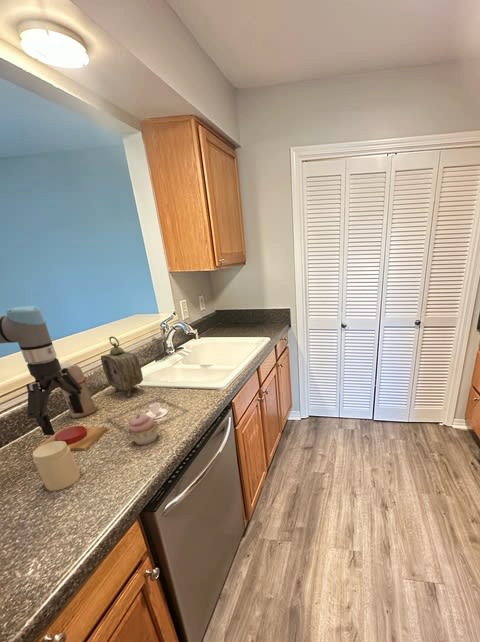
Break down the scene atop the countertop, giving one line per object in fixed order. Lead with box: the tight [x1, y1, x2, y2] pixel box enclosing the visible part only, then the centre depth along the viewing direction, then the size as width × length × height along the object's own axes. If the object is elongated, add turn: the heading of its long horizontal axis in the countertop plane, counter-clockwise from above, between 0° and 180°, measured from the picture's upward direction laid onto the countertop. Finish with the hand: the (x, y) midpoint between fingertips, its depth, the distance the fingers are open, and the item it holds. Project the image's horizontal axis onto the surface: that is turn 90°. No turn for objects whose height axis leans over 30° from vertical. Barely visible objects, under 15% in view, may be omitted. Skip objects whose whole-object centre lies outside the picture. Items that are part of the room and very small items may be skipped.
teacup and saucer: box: [145, 402, 169, 420], centre depth 119 cm, size 9×8×4 cm
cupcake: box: [126, 412, 159, 446], centre depth 102 cm, size 9×9×10 cm
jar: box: [32, 441, 81, 492], centre depth 85 cm, size 8×8×11 cm
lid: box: [54, 425, 87, 445], centre depth 105 cm, size 9×9×2 cm
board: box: [34, 427, 108, 452], centre depth 106 cm, size 16×12×1 cm
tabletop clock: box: [100, 335, 144, 398], centre depth 136 cm, size 14×9×25 cm, turn 54°
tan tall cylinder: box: [60, 363, 97, 419], centre depth 120 cm, size 8×8×20 cm
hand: (65, 423), depth 104 cm, fingers open, 13 cm apart
